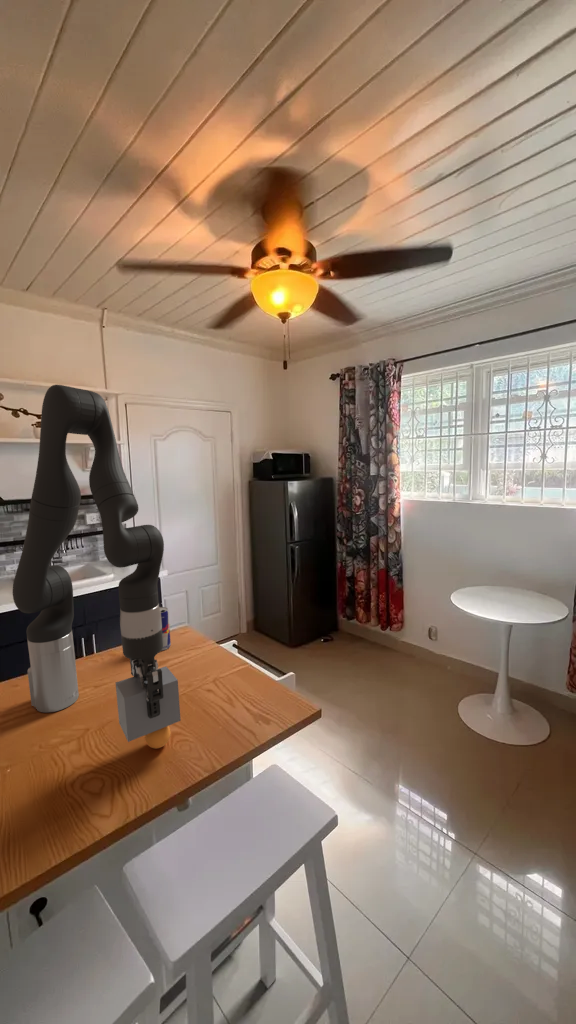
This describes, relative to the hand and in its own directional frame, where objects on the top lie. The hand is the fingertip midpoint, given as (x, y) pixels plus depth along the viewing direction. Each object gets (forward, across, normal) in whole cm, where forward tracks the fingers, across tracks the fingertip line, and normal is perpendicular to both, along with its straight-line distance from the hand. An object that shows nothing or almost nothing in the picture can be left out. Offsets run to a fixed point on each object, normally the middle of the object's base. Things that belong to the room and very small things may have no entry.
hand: (148, 706), depth 83 cm
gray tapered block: (+3, 0, 0) cm, 3 cm away
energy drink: (+9, +42, -16) cm, 46 cm away
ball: (+7, 0, -1) cm, 7 cm away
